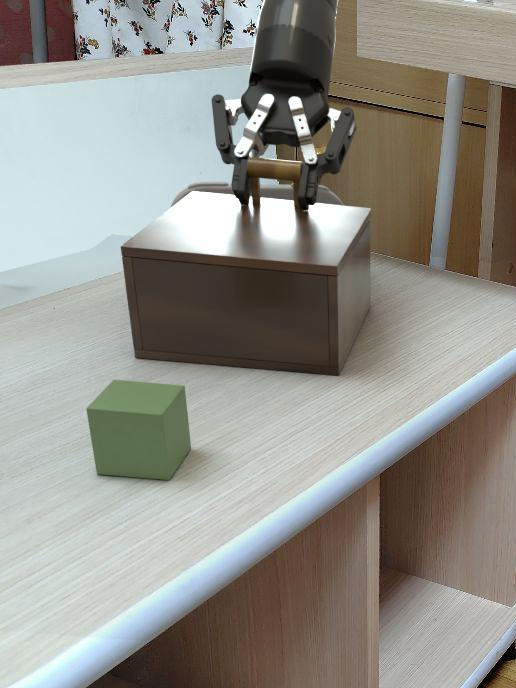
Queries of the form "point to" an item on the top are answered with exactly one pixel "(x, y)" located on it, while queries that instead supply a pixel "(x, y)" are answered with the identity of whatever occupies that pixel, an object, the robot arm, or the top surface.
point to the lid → (254, 228)
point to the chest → (248, 313)
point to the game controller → (265, 191)
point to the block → (139, 429)
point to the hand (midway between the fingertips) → (272, 202)
